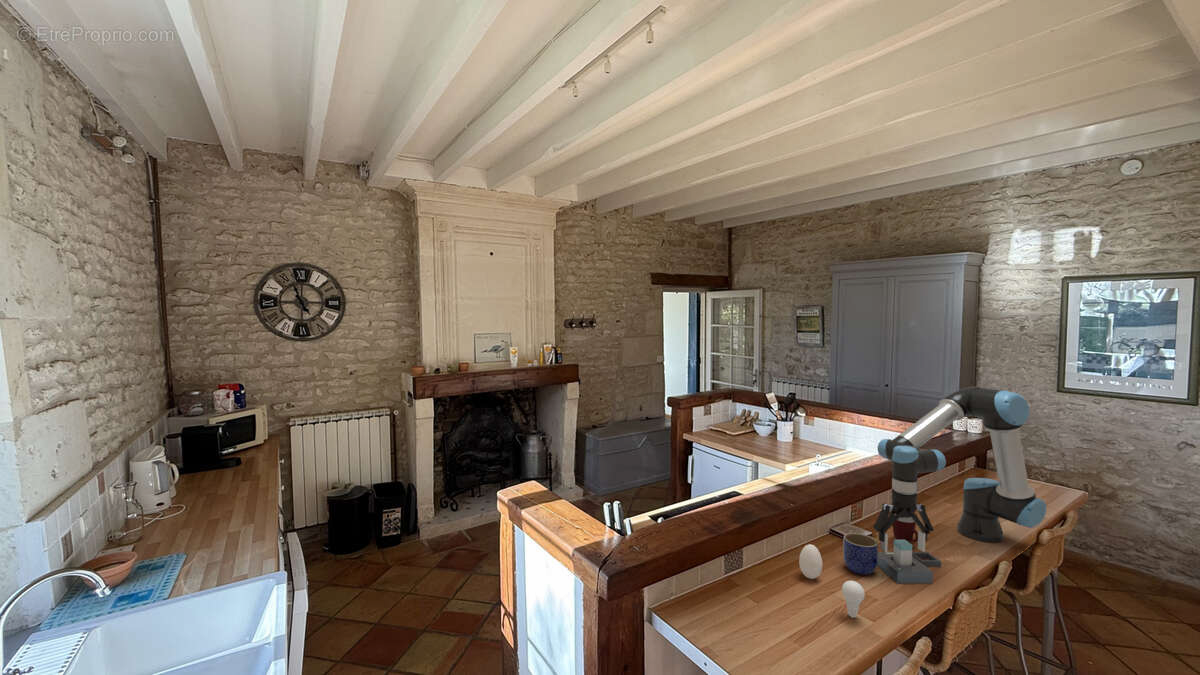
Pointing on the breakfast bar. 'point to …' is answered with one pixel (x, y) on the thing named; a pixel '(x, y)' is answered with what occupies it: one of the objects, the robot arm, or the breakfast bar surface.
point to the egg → (810, 561)
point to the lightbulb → (853, 596)
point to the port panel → (904, 570)
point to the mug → (905, 529)
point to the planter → (860, 553)
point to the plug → (902, 553)
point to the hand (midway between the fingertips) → (902, 550)
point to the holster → (931, 560)
